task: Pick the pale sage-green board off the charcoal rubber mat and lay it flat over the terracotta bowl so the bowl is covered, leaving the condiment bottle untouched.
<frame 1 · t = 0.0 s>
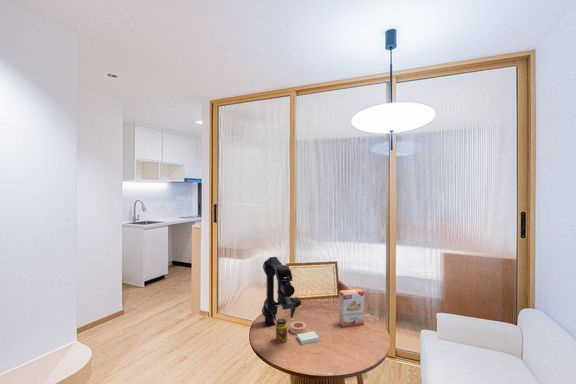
hand: (283, 319, 152), 15 cm above the table, fingers open, 9 cm apart
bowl: (298, 332, 168), on the table
cracker box: (352, 324, 177), on the table
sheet: (307, 339, 158), point 1 cm above the table, touching mat
condiment: (280, 341, 158), on the table
mat: (307, 340, 158), on the table
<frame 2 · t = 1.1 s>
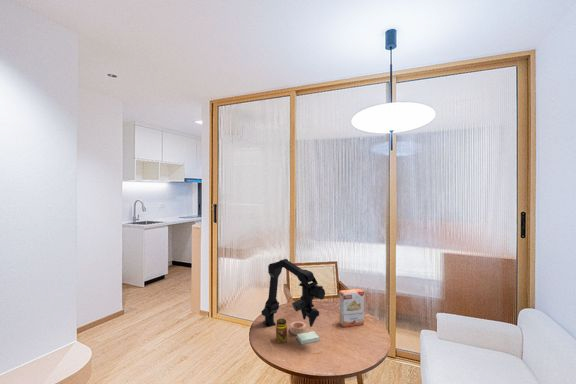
hand: (307, 322, 158), 10 cm above the table, fingers open, 9 cm apart
nothing on the table moved.
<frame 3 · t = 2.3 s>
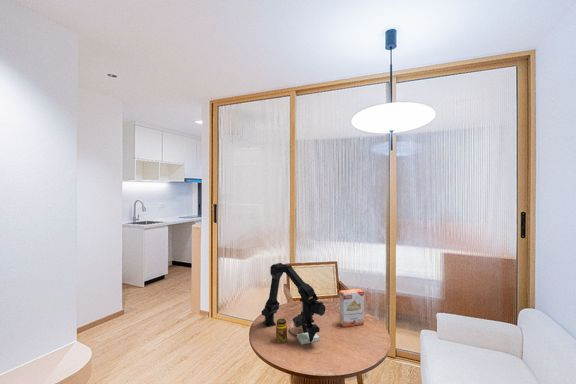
hand: (307, 338, 158), 1 cm above the table, fingers closed on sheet, 7 cm apart
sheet: (307, 339, 158), point 1 cm above the table, touching gripper, mat
everything else where it was.
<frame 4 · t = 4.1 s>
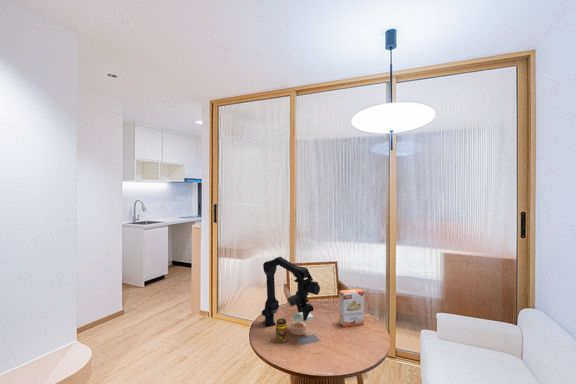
hand: (302, 317, 163), 11 cm above the table, fingers closed on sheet, 7 cm apart
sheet: (302, 318, 163), point 10 cm above the table, touching gripper
everything else where it was.
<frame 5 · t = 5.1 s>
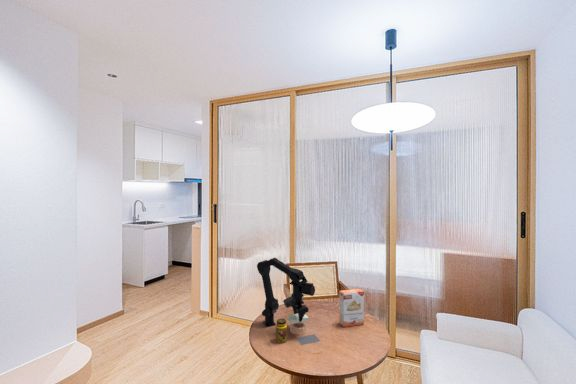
hand: (297, 318, 168), 8 cm above the table, fingers closed on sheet, 7 cm apart
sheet: (298, 319, 168), point 7 cm above the table, touching gripper
everything else where it was.
when the fingers open (6 cm above the table, at t = 6.0 s): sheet drops 1 cm, resting on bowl.
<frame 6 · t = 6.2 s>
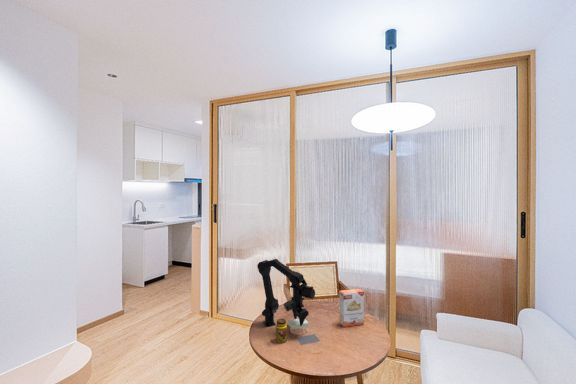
hand: (298, 322, 168), 6 cm above the table, fingers open, 9 cm apart
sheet: (298, 325, 168), point 4 cm above the table, touching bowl
everything else where it was.
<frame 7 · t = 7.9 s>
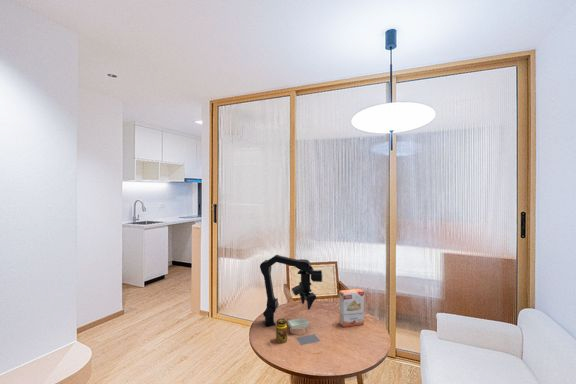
hand: (305, 306, 174), 13 cm above the table, fingers open, 9 cm apart
nothing on the table moved.
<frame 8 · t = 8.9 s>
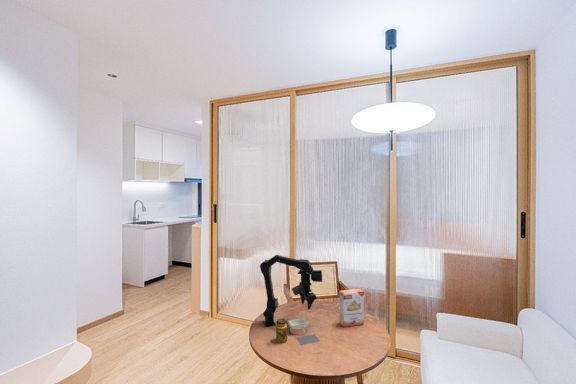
hand: (305, 306, 174), 12 cm above the table, fingers open, 9 cm apart
nothing on the table moved.
at the end: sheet 0.0 cm off-centre on the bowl, point 4.2 cm above the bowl's base; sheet tilted 0°; the gripper is holding nothing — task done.
